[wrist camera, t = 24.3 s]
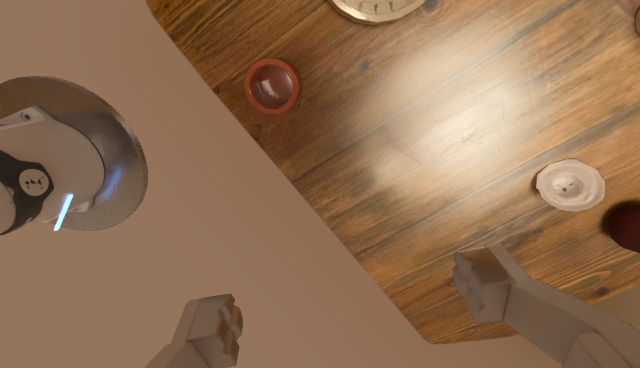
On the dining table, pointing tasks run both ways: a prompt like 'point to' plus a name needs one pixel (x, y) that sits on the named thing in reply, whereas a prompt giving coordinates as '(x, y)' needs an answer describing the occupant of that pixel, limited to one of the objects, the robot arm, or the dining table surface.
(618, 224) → the dark maroon ball
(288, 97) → the utensil pot
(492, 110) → the dining table surface
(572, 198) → the seashell
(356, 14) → the bowl
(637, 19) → the mug
